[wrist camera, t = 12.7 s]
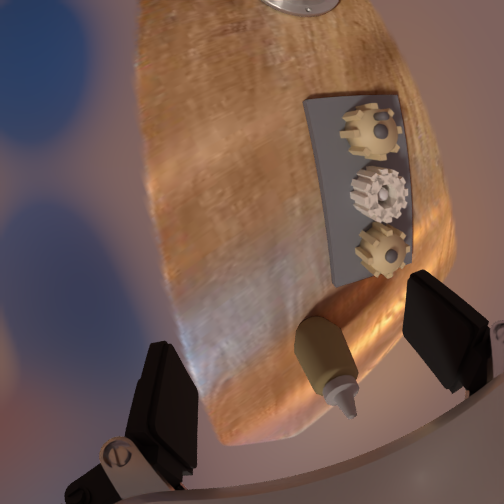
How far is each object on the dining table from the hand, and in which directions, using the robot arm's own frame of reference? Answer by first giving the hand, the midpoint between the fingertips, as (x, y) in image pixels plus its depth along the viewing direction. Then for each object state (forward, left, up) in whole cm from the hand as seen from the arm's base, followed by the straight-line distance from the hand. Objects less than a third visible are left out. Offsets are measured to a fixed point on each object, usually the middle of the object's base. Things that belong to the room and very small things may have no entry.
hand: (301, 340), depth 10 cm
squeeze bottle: (+23, +6, -26) cm, 36 cm away
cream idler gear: (+2, +17, -25) cm, 30 cm away
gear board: (+2, +17, -26) cm, 31 cm away
